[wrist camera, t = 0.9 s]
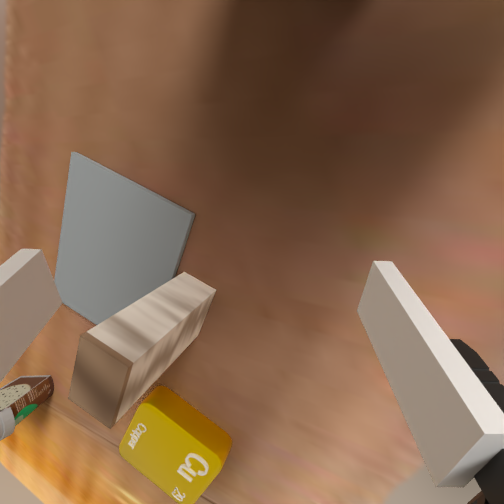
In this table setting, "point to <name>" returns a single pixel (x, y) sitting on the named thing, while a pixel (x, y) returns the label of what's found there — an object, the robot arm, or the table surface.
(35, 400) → the food container
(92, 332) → the tall block
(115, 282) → the mat
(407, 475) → the table surface
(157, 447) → the element tile
